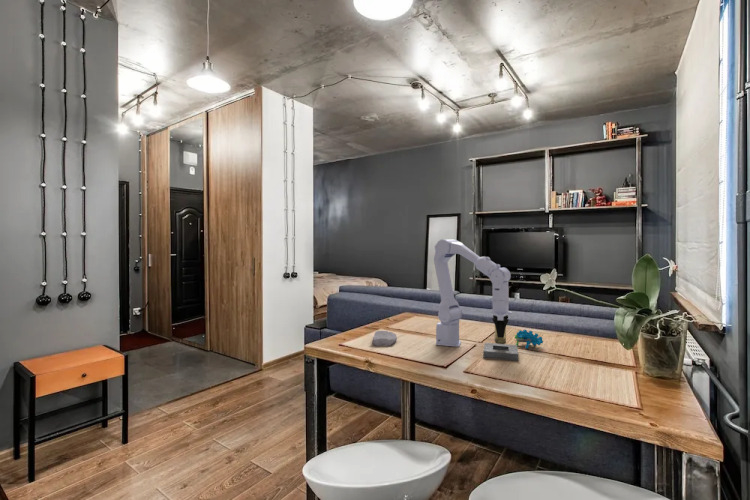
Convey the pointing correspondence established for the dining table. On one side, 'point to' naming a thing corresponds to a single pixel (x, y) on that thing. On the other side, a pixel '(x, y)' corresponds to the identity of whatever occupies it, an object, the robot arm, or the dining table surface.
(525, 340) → the blue toy dinosaur
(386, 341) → the stone block
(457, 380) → the dining table surface
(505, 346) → the block
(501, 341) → the brass sleeve
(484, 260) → the robot arm
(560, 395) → the dining table surface
